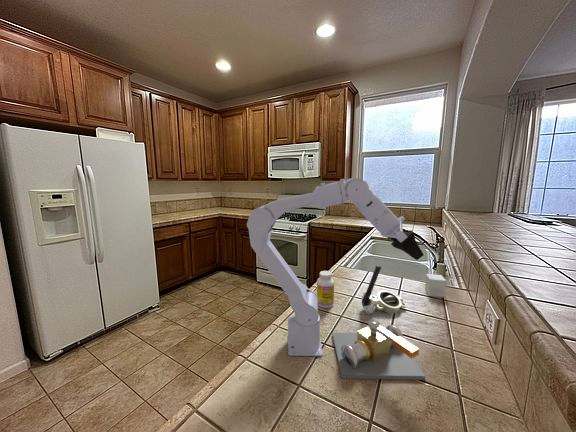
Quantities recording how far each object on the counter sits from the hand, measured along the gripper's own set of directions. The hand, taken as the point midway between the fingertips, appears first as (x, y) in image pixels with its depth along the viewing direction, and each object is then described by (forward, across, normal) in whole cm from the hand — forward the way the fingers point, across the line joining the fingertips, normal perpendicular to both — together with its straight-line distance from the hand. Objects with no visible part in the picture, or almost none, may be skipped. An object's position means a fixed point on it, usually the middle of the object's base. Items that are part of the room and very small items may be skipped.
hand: (414, 252), depth 61 cm
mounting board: (+15, -3, +27) cm, 31 cm away
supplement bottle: (+6, +23, +37) cm, 44 cm away
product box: (+38, +37, +4) cm, 53 cm away
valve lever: (+11, -7, +19) cm, 23 cm away
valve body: (+15, -3, +27) cm, 31 cm away
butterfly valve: (+21, +22, +22) cm, 37 cm away
